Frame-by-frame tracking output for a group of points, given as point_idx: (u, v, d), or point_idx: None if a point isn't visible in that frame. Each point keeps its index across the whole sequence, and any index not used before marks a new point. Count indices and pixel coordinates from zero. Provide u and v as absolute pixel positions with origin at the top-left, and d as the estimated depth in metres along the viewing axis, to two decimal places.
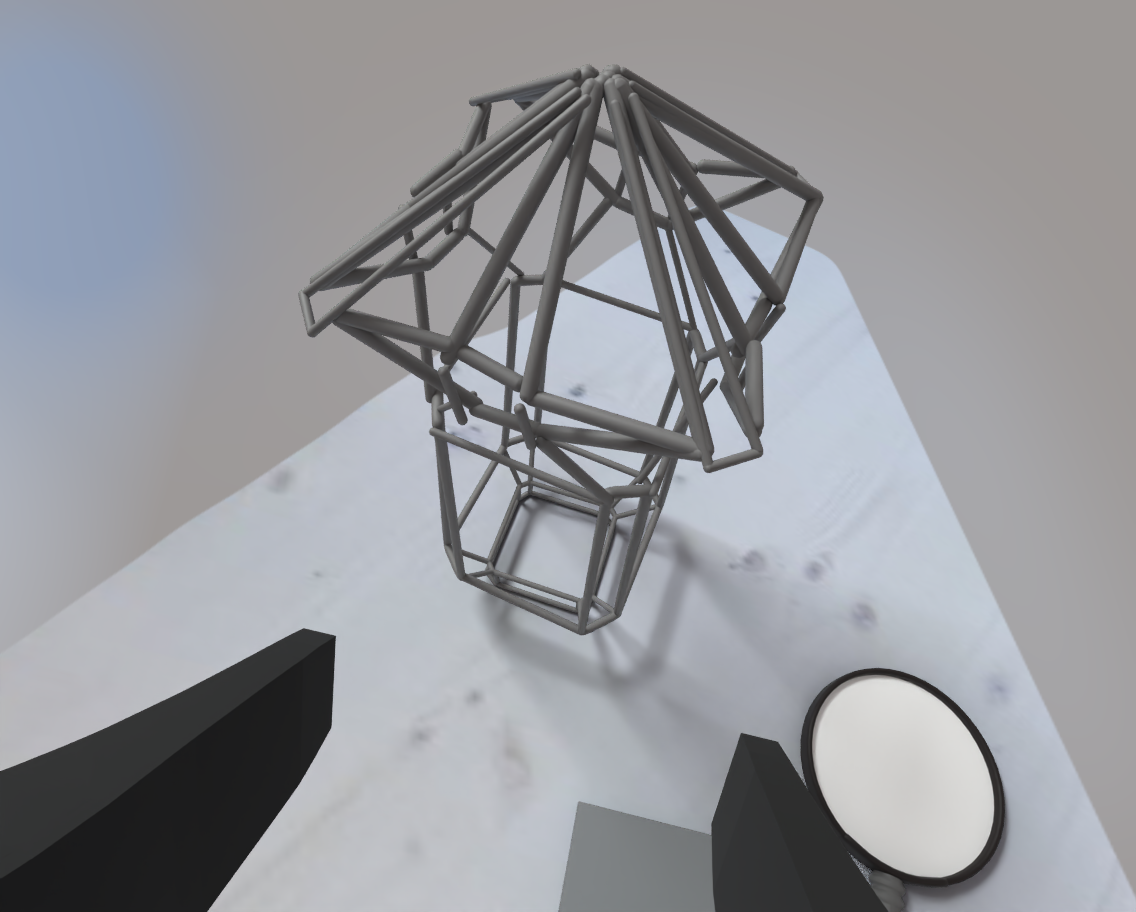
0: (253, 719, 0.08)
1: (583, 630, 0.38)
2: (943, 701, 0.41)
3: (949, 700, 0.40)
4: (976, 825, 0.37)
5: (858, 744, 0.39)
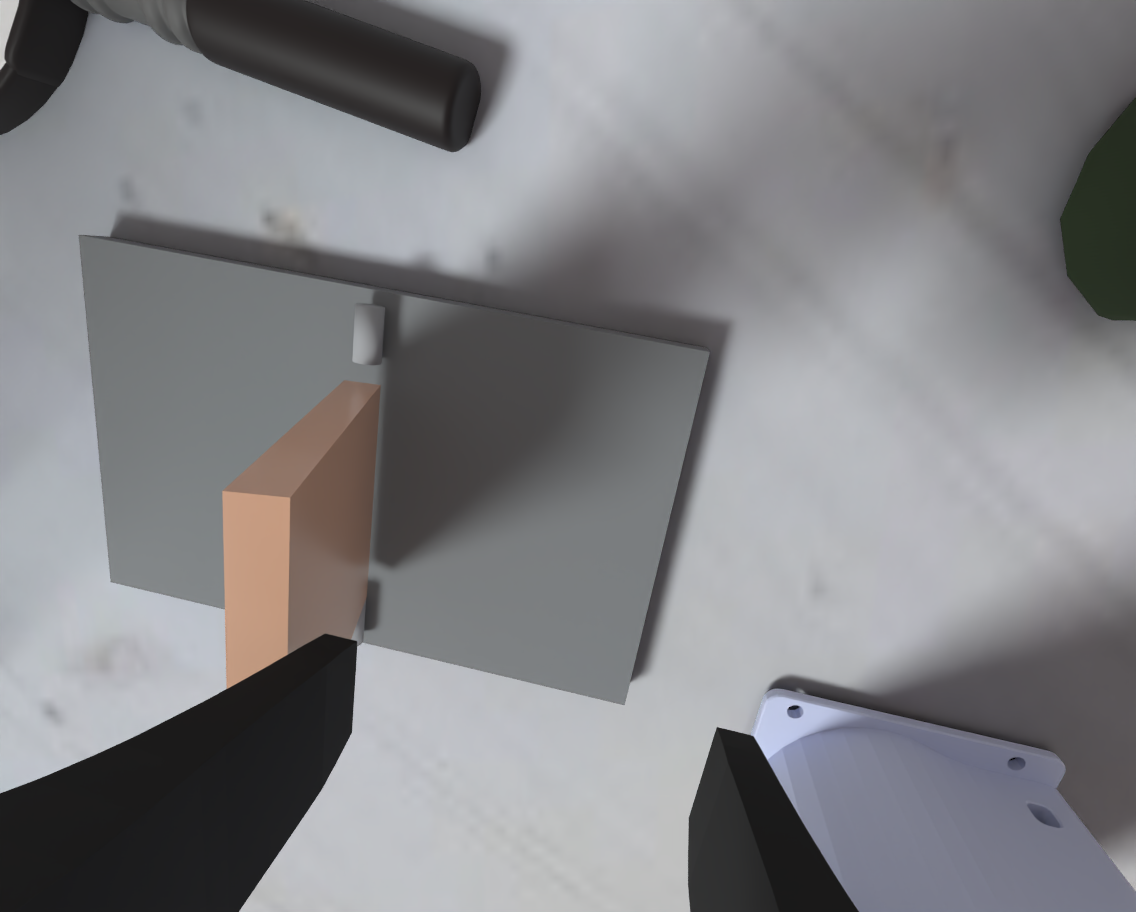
0: (279, 726, 0.08)
1: None
2: None
3: None
4: None
5: None
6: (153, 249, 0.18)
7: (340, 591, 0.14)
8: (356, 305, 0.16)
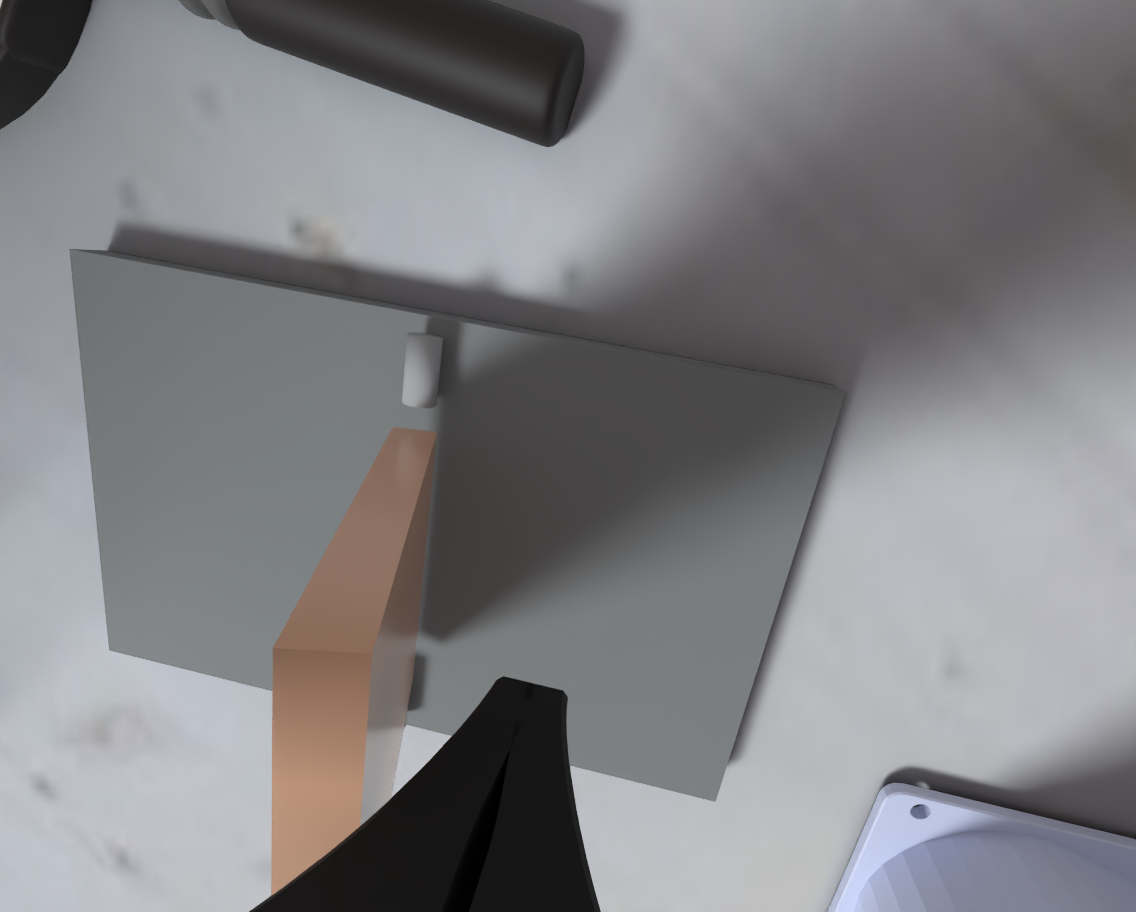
0: (501, 782, 0.08)
1: None
2: None
3: None
4: None
5: None
6: (159, 266, 0.15)
7: (398, 702, 0.11)
8: (409, 336, 0.13)
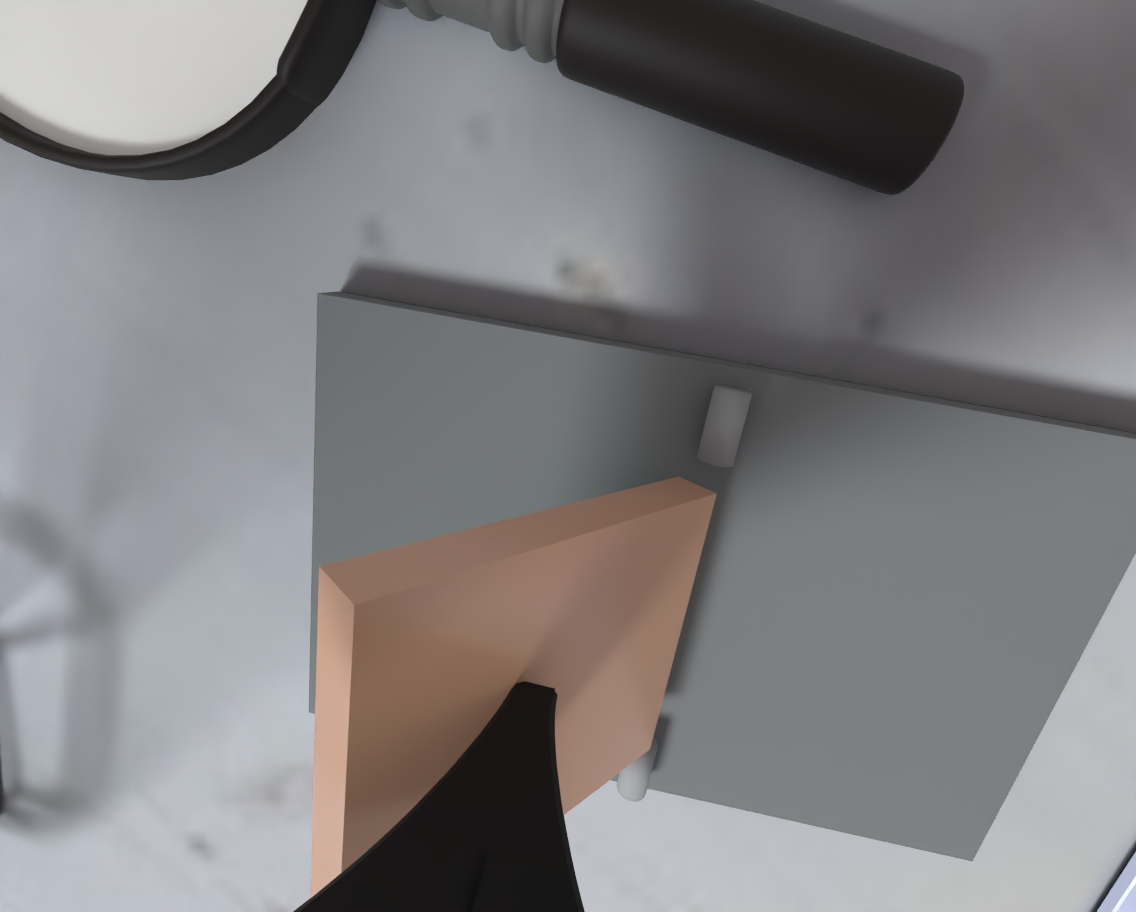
0: None
1: None
2: None
3: None
4: None
5: None
6: (420, 312, 0.13)
7: None
8: (722, 391, 0.12)
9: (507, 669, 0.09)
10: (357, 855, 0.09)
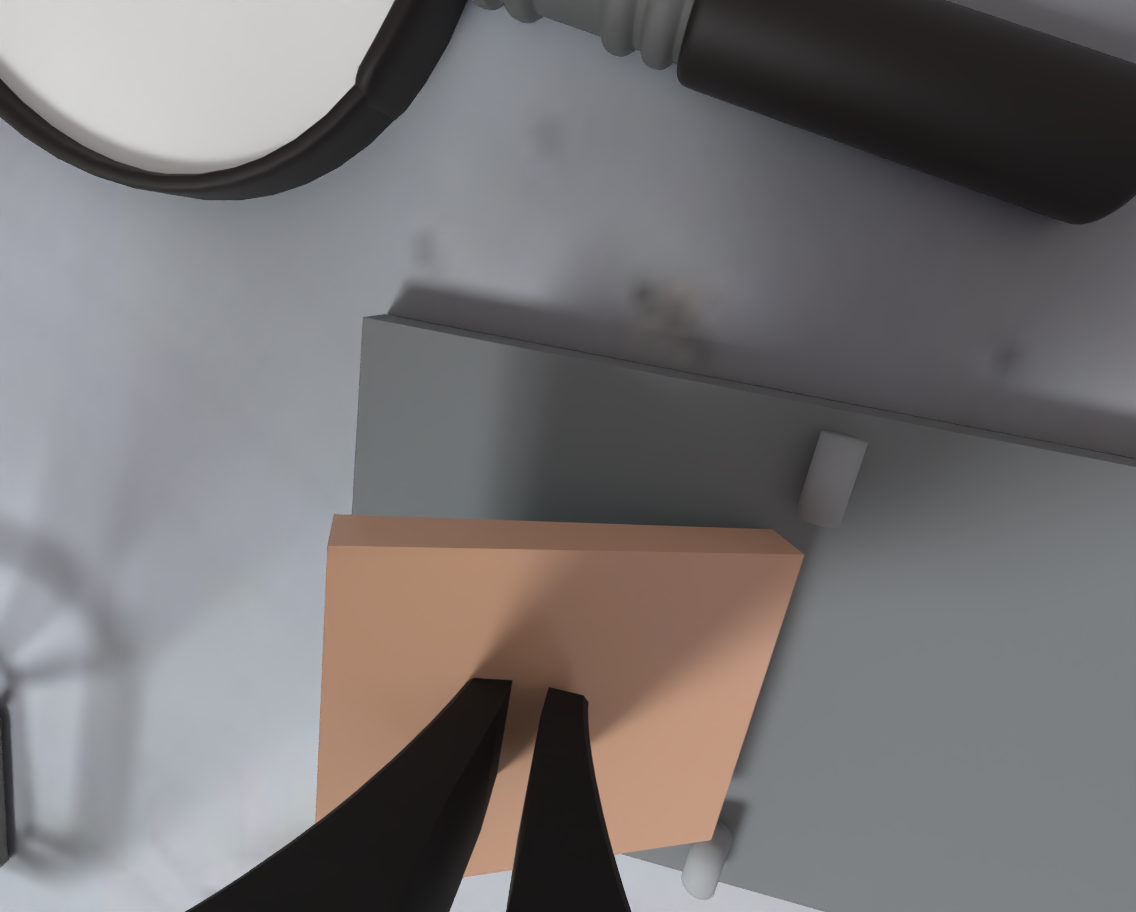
0: (471, 775, 0.08)
1: None
2: None
3: None
4: None
5: None
6: (478, 340, 0.12)
7: None
8: (833, 440, 0.10)
9: (496, 664, 0.10)
10: (333, 781, 0.10)
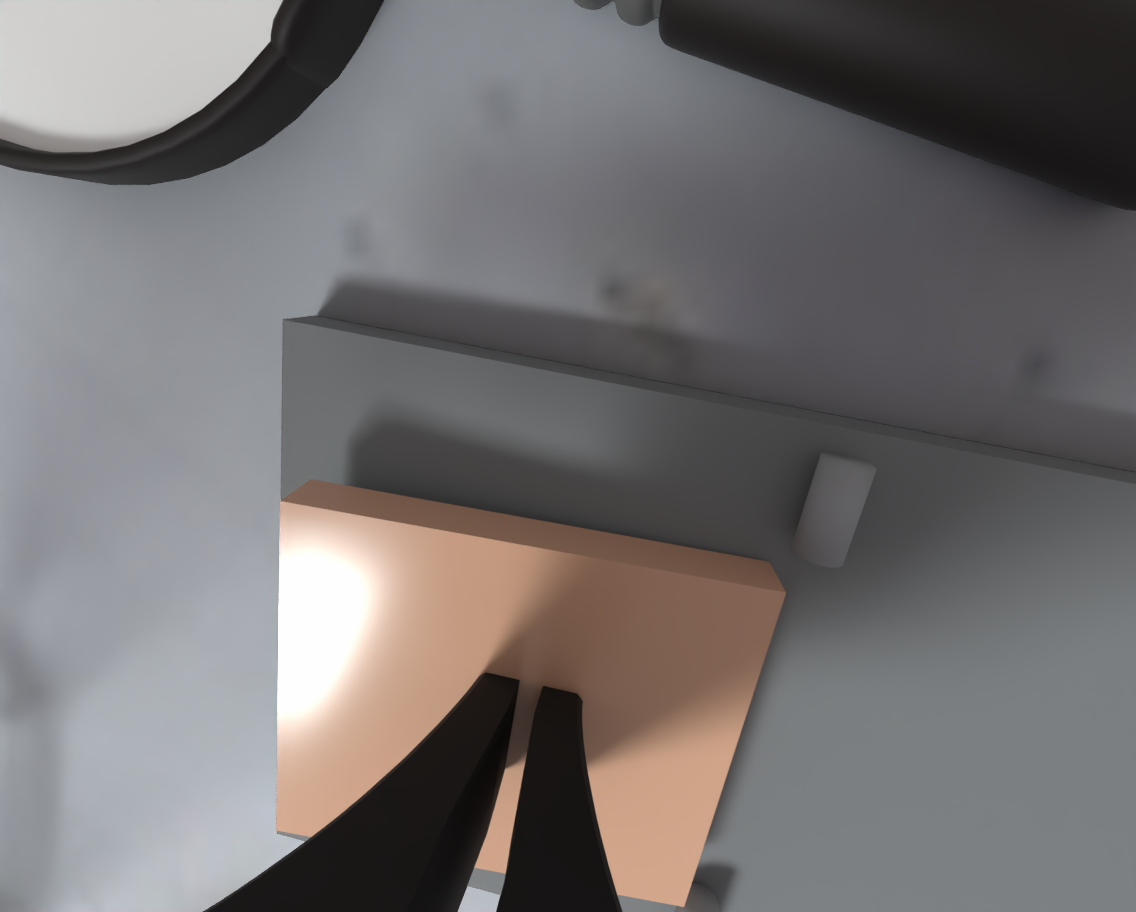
0: (479, 777, 0.08)
1: None
2: None
3: None
4: None
5: None
6: (418, 346, 0.10)
7: None
8: (835, 465, 0.09)
9: (433, 645, 0.10)
10: (290, 722, 0.11)
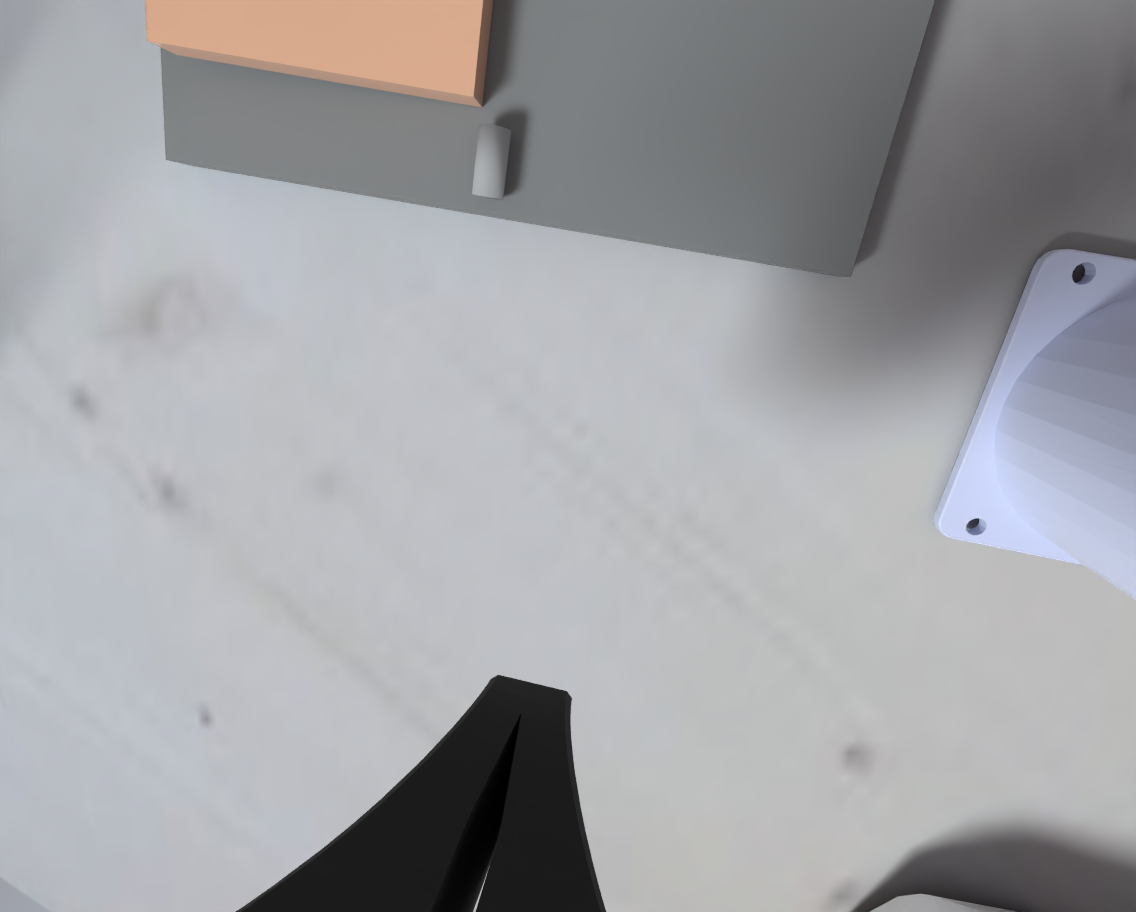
0: (495, 781, 0.08)
1: None
2: None
3: None
4: None
5: None
6: None
7: None
8: None
9: None
10: None
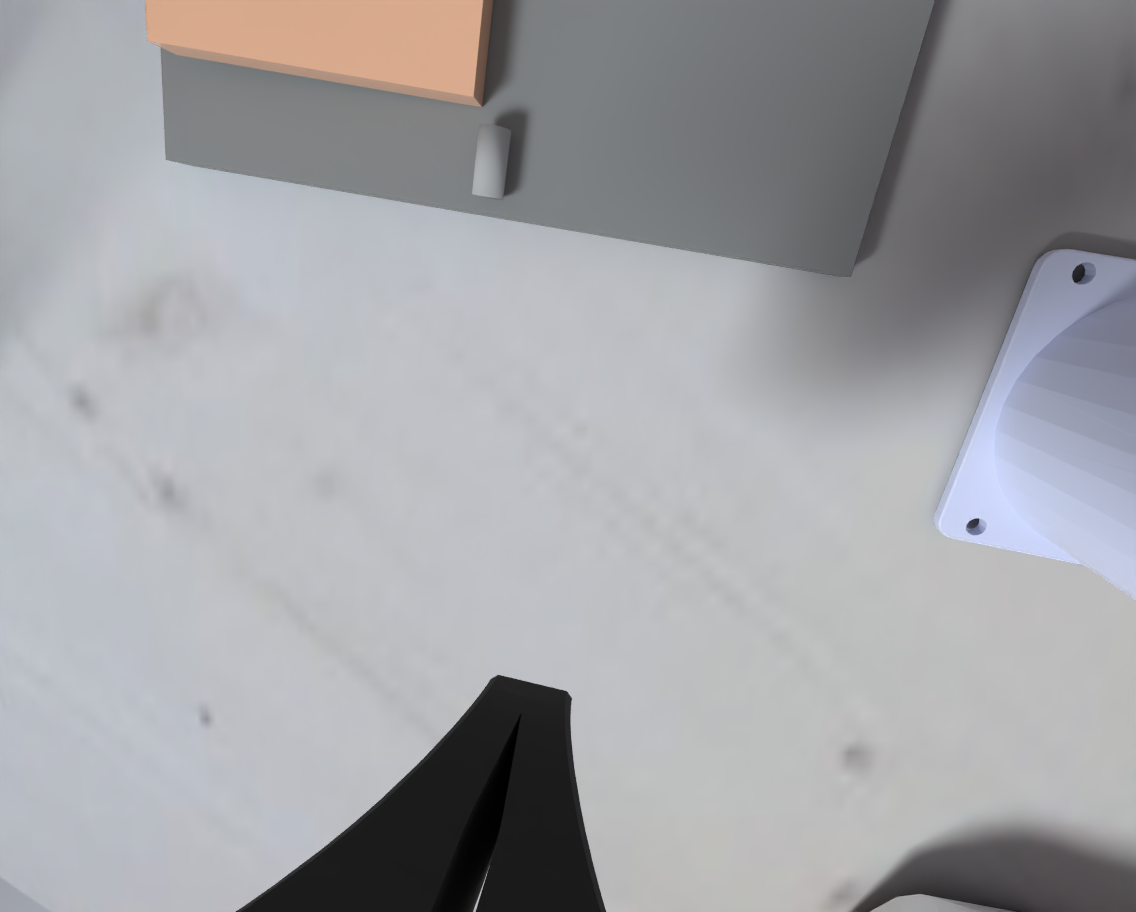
0: (495, 781, 0.08)
1: None
2: None
3: None
4: None
5: None
6: None
7: None
8: None
9: None
10: None
